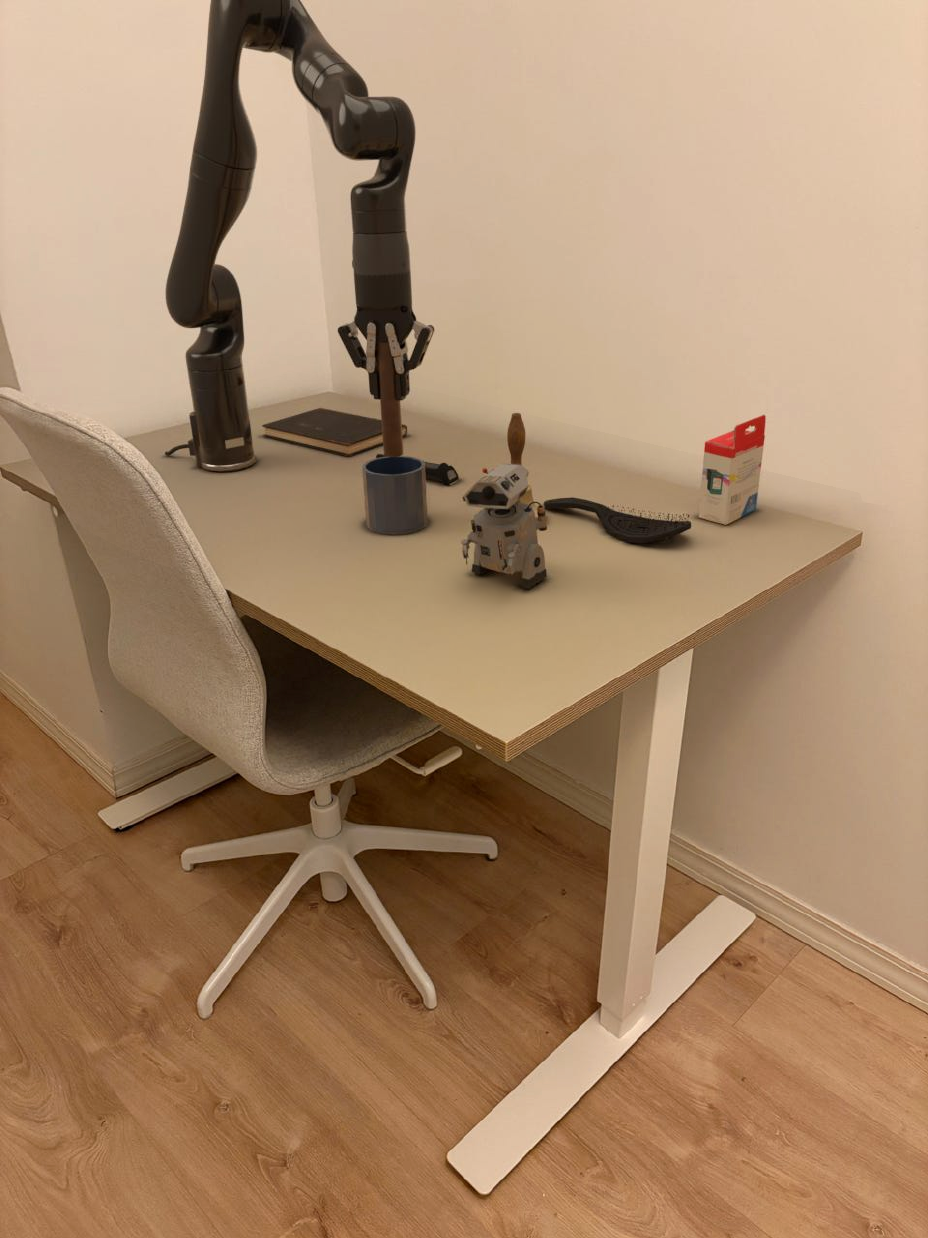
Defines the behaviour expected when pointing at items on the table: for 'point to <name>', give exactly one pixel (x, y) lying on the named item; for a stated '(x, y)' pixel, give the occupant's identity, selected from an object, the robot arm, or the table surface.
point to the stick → (389, 402)
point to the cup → (395, 495)
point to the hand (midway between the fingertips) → (389, 398)
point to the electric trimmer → (438, 472)
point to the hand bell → (519, 451)
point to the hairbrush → (625, 521)
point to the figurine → (505, 526)
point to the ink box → (732, 473)
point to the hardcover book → (329, 431)
